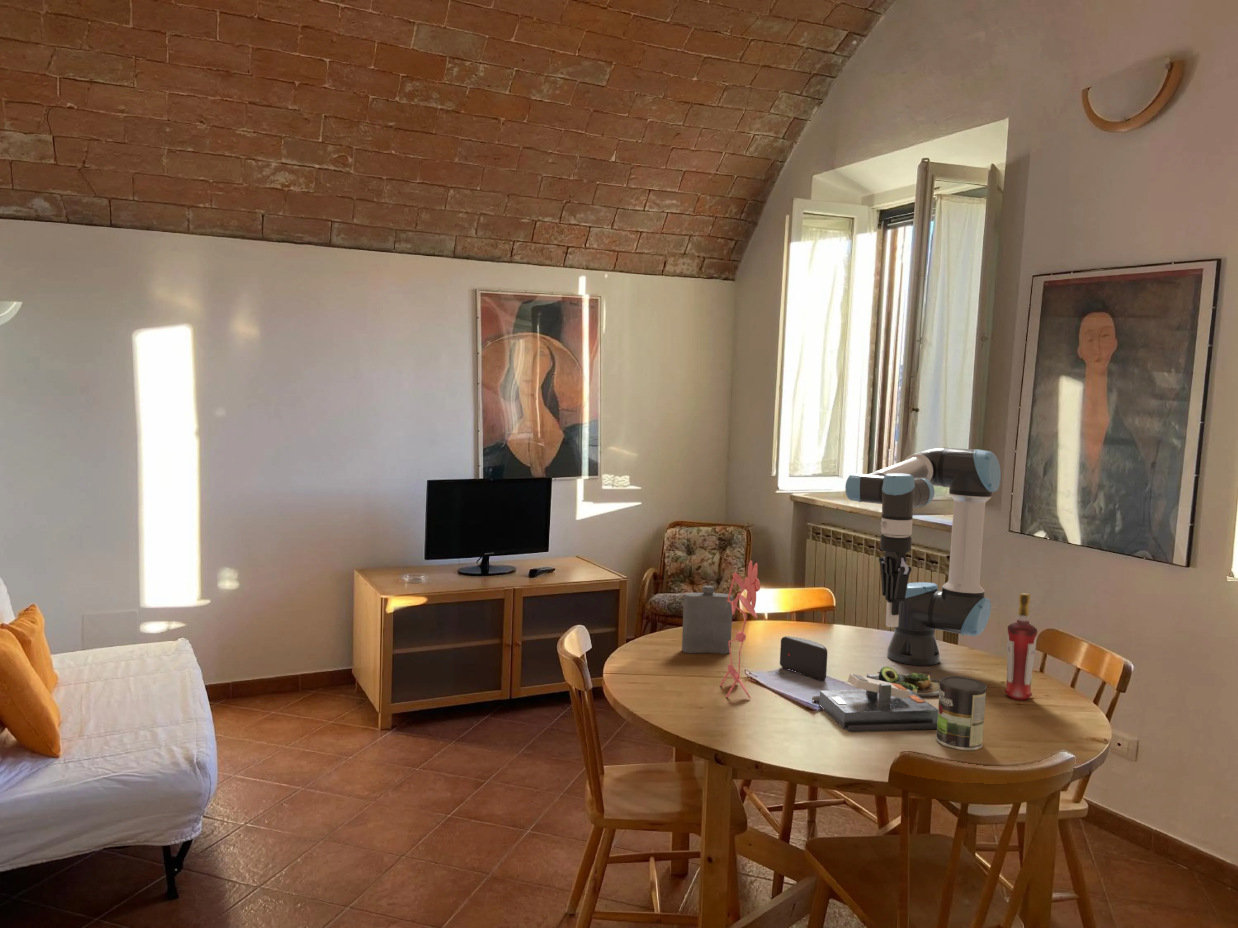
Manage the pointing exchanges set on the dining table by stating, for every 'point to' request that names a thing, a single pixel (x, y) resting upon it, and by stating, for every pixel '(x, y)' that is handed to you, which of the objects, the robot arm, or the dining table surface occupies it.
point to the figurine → (751, 587)
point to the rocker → (877, 685)
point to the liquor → (1020, 653)
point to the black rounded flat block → (804, 657)
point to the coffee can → (961, 713)
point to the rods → (887, 725)
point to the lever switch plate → (876, 707)
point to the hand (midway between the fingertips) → (891, 626)
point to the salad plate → (911, 681)
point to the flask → (707, 622)
